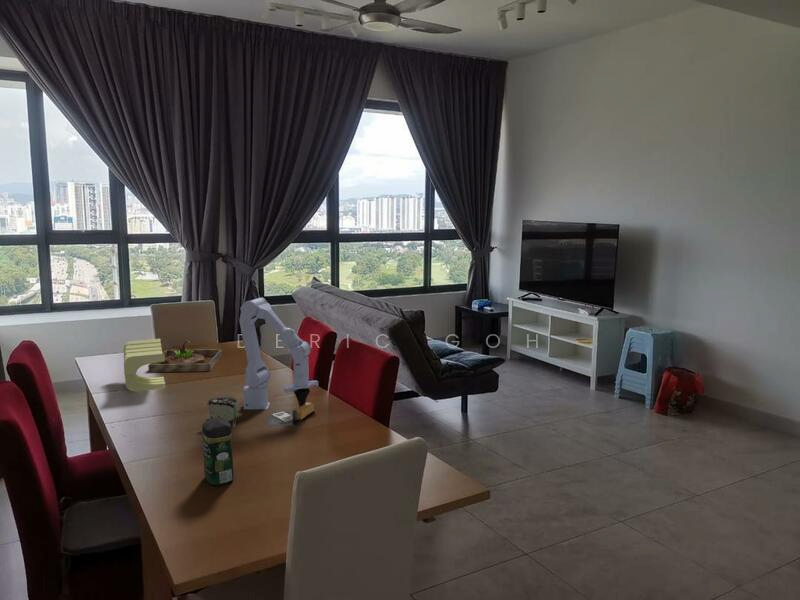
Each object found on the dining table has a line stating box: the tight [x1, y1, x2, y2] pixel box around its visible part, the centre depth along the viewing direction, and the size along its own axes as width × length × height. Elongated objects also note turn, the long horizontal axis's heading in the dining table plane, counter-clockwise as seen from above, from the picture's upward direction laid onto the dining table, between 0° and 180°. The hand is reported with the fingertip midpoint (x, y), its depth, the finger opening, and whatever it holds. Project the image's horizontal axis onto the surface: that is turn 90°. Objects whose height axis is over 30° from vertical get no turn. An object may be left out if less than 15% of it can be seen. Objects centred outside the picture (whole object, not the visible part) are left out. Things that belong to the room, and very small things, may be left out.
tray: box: [266, 409, 302, 427], centre depth 234 cm, size 12×15×5 cm
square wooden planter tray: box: [147, 348, 223, 373], centre depth 311 cm, size 29×29×4 cm
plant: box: [161, 340, 206, 364], centre depth 313 cm, size 20×20×11 cm
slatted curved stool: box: [123, 338, 166, 393], centre depth 273 cm, size 30×16×18 cm, turn 24°
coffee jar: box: [201, 417, 235, 486], centre depth 184 cm, size 10×8×19 cm
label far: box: [272, 411, 289, 419], centre depth 237 cm, size 5×5×1 cm
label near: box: [279, 415, 293, 422], centre depth 233 cm, size 5×5×1 cm
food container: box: [206, 396, 240, 430], centre depth 228 cm, size 12×6×10 cm, turn 71°
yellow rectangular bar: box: [295, 401, 316, 420], centre depth 237 cm, size 12×4×2 cm, turn 162°
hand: (301, 406), depth 242 cm, fingers closed
